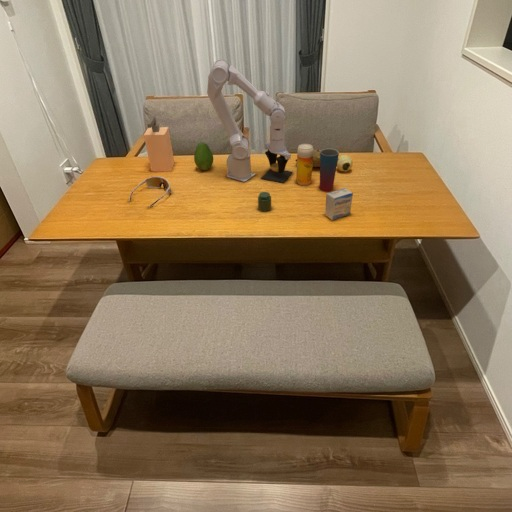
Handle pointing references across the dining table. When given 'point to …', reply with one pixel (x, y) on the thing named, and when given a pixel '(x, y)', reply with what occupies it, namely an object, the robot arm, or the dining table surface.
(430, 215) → the dining table surface
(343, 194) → the medicine box
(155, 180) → the sunglasses
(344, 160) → the cream rounded piece
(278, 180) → the coaster
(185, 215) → the dining table surface
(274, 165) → the lid
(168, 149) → the soap dispenser
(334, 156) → the cup
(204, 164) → the fruit
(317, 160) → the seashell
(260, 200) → the jar
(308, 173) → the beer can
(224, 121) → the robot arm
